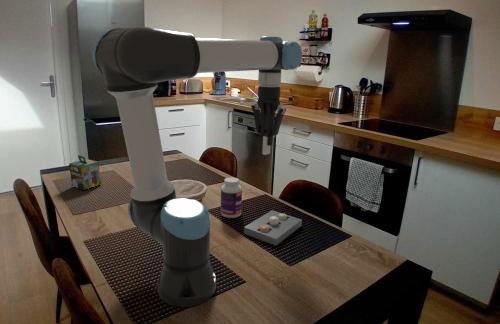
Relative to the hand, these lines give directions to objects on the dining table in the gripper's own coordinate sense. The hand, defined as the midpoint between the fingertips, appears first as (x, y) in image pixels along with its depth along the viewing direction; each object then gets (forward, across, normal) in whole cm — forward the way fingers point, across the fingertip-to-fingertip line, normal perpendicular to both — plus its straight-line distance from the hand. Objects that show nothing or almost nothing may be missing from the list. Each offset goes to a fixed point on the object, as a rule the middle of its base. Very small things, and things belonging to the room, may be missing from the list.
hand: (266, 153), depth 122 cm
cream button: (+25, -7, +3) cm, 26 cm away
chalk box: (+27, +83, +22) cm, 90 cm away
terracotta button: (+26, -6, +9) cm, 28 cm away
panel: (+26, -6, +3) cm, 27 cm away
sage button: (+26, -7, -3) cm, 27 cm away
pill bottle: (+27, +13, +3) cm, 30 cm away
